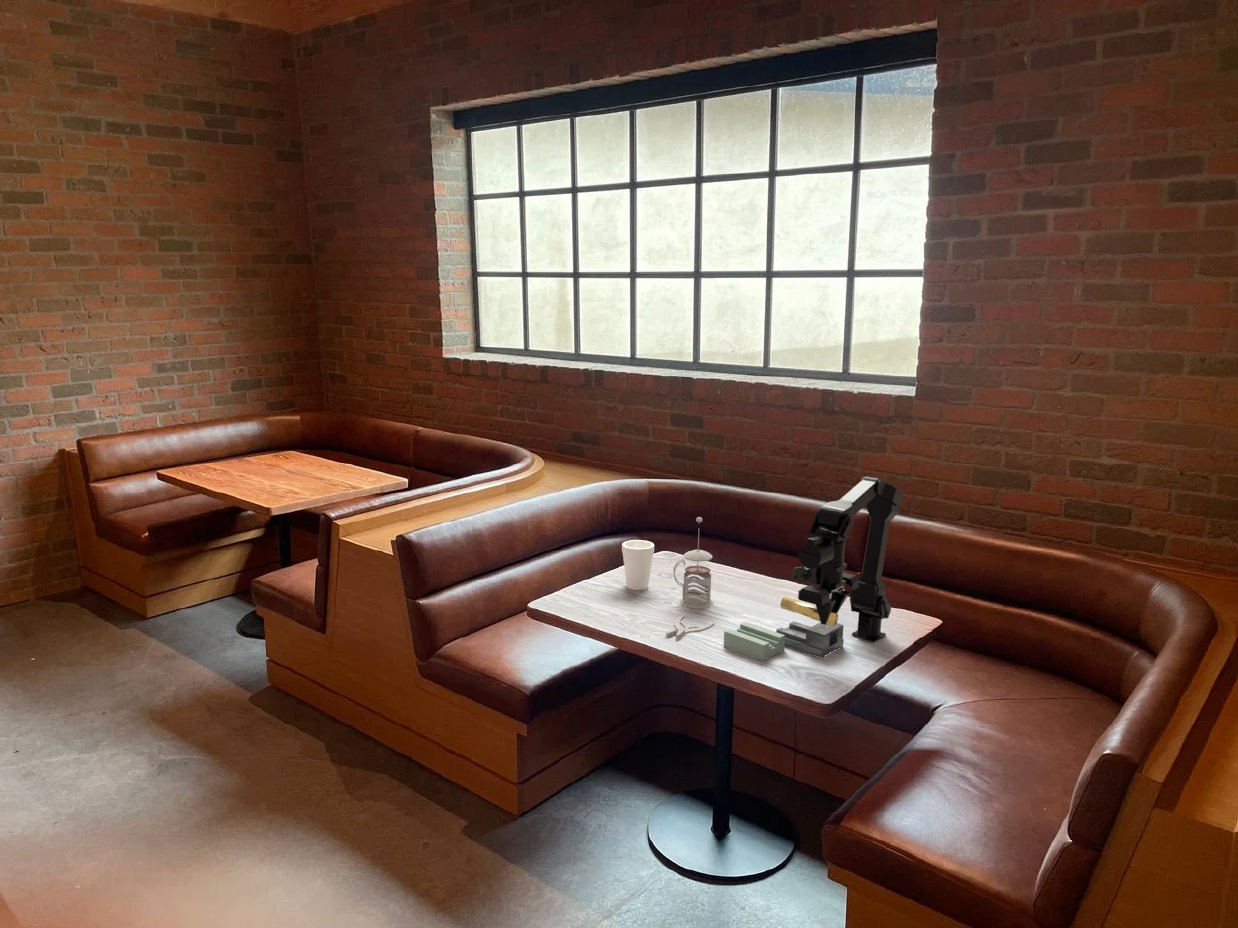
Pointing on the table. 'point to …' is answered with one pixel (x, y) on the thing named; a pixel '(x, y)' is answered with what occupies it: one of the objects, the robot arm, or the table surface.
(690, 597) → the french press
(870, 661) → the table surface
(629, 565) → the foam cup
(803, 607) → the axle
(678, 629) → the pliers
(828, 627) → the grey slotted block
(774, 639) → the v block
